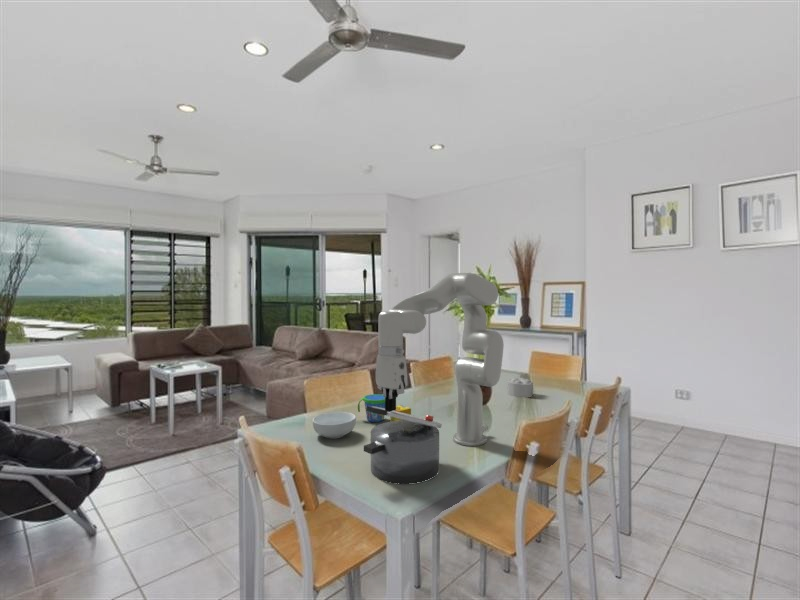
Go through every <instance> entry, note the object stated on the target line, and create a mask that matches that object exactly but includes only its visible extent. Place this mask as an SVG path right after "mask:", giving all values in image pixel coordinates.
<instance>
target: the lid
mask: <svg viewBox="0 0 800 600" xmlns="http://www.w3.org/2000/svg"><path fill="white" fill-rule="evenodd" d="M366 411H369V412H372V413H376V414H381V415H385V417H386V416H387V417H393V418H397V419H401V420H405V421H409V422H413V423H417V424H422V425H426V426H431V427H436V428H437V429H441V428H442V425H443V424H442V423H441V422H437V421H435V420H434V416H433V415H429V414H425V417H422V416H421V417H420V416H416V415H412V414H411V415H410V414H406V413H402V412H397V411H390V412H389V411H387V410H385V409H384V408H380V407H374V406H372V407H370V406H367V409H365V412H366Z"/></svg>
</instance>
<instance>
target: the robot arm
mask: <svg viewBox="0 0 800 600" xmlns="http://www.w3.org/2000/svg"><path fill="white" fill-rule="evenodd" d="M498 298H499V291H498V287H497V286H496V284H494V282H492V281H490V280H488V279H486V278H484V277H482V276H481V275H478V274H476V273H472V272H455V273H453V272H452V273H449V274H447V275H445V276H443V277H442V278H441V279H440V280H438V281H437V282H436V283H434V284H433V285H432V286H430V287H429V288H428V289H426V290H424V291H422V292H419V293H416V294H414V295H412V296H410V297H407V298H404V299H403V300H401V301H399V302H397V303H396V304H395V305H394V306H393V307H392V308H390V309H389V310H387V311H386V310H385V311H381V312H380V313H379V314H378V320H377V321H378V324H377V325H378V329H377V330H378V332H377V333H378V341H377V342H378V343H377V344H378V347H377V348H378V354H377V357H376V363H375V364H376V365H375V383H376V386H377V389H379V390H380V391H381V392H382V395H383V396H384V397H385V410H387V411H389V412H390V411H394V410H396V406H397V398H398V396H399V395H402V394H405V388H407V387H408V367H407V363H406V362H407V361H406V357H405V355H404V353H405V349H404V348H403V347H404V345H403V344H404V343H403V342H404V341H403V340H404V337H403V336H404V334H409V335H410V334H411V335H412V334H413V335H415V334H419V333H421V332H422V331H423V330H425V328H426V326H427V318H426V316H425V315H430V314H433V313H434V314H435V313H438V312H441V311H443V310H444V309H445V308H446V307H447V306H448V305H450V304H451V303H452V302H453V301H454V300H455V299H456V300H457V302H458V304H459V305H460V307H461V309H462V311H463V315H464V319H463V320H464V322H463V328H462V329H463V330H462V338H461V339H462V340H461V348H462V350H463V351H464V352H465V353H467V354H471V355H477V356H484V358H478V357H471V356H465V357H464V356H463V357H461V358H459V359H457V360H456V361H455V364H454V376H455V382H456V394H457V395H456V398H457V399H456V405H457V406H456V433H454V434H453V435H452V440H453V442H455V443H456V444H459V445H463V446H468V447H477V446H482V445H484V444H486V443H487V436H486V435H484V432H485V431H487V430H488V429H489V428H488V426H487V424H484V425H483V391H482V388H481V386H484V387H489V388H491V387H495V386H496V385H497V384H498V383H499V381H500V378H501V372H502V366H503V356H504V347H505V346H504V339H503V336H502V335H501V333H499V332H498V331H495V330H491V329H490V330H489V329H487V323H488V316H487V313H486V310H485V309H484V307H483V306H492V305H493V304H495V303H496V302H497V300H498Z"/></svg>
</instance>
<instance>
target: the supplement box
mask: <svg viewBox="0 0 800 600" xmlns="http://www.w3.org/2000/svg"><path fill="white" fill-rule="evenodd" d="M394 411H397V412H402V413H406V414H410V415H412V408H411V407H408V406H405V405H402V404H399V405H396V410H394ZM389 417H390V416H389ZM391 421H405V420H401V419H397V418H393V417H390V421H389V422H391Z"/></svg>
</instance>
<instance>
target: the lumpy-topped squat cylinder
mask: <svg viewBox="0 0 800 600" xmlns="http://www.w3.org/2000/svg"><path fill="white" fill-rule="evenodd" d="M507 395H509V396H511V397H514V396H515V397H514V398H522V397H527V398H528V397H531V398H532V397H533V396H534V381H531V380H530V379H527V378H525V377H520V378H518V377H513V378H512V379H508V380H507ZM532 395H533V396H532ZM527 398H526V399H527ZM528 399H529V398H528Z"/></svg>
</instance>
